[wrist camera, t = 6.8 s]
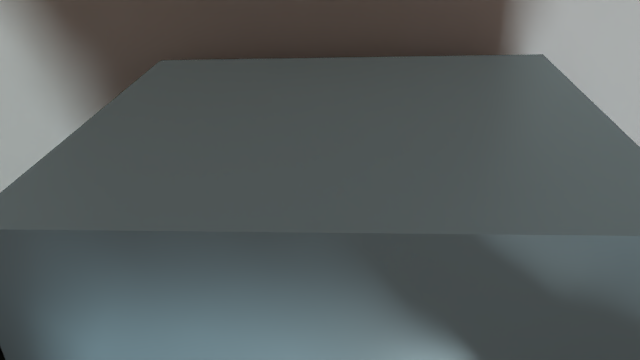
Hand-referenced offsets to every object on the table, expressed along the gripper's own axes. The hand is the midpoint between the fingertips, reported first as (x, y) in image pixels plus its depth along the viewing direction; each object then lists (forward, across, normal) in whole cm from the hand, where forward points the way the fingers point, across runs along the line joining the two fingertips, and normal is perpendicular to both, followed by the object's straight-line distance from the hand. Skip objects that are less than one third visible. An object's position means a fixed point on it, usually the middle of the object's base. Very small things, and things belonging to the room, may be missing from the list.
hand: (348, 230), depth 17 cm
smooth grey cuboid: (+1, 0, 0) cm, 1 cm away
